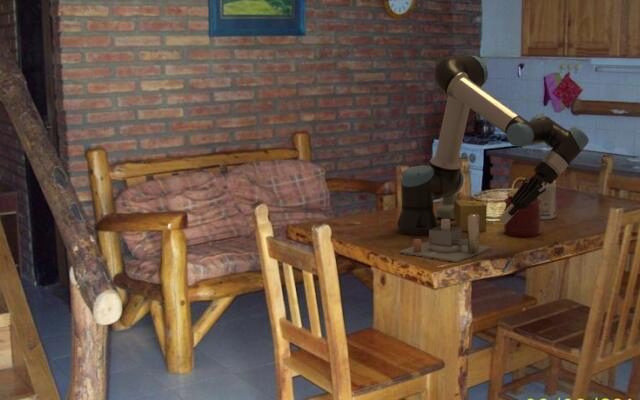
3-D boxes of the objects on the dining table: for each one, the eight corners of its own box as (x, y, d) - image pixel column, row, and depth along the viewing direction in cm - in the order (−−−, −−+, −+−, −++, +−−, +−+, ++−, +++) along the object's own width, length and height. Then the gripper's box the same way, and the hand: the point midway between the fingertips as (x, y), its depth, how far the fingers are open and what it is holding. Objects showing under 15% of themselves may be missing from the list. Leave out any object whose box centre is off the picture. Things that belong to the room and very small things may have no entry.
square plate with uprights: (399, 253, 292) (399, 221, 290) (435, 240, 309) (435, 210, 307) (456, 263, 278) (457, 229, 276) (491, 249, 295) (491, 217, 293)
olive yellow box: (481, 225, 332) (481, 199, 331) (487, 231, 322) (487, 204, 320) (453, 226, 332) (453, 200, 330) (458, 232, 322) (459, 205, 320)
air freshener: (453, 215, 352) (453, 190, 351) (467, 218, 346) (467, 193, 344) (432, 218, 347) (432, 193, 345) (446, 221, 340) (446, 196, 338)
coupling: (429, 248, 292) (429, 213, 290) (440, 243, 299) (440, 209, 297) (473, 254, 284) (473, 217, 281) (483, 249, 290) (483, 213, 288)
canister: (527, 227, 326) (528, 180, 323) (548, 234, 314) (549, 186, 311) (496, 231, 322) (497, 183, 318) (516, 238, 310) (517, 189, 307)
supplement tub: (540, 214, 350) (541, 177, 348) (560, 217, 343) (561, 180, 340) (525, 217, 344) (525, 180, 342) (545, 221, 337) (546, 183, 334)
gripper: (566, 178, 284) (517, 232, 284) (548, 172, 296) (501, 224, 296) (551, 163, 282) (501, 217, 282) (534, 158, 294) (486, 210, 294)
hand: (501, 221), depth 289 cm, fingers closed
